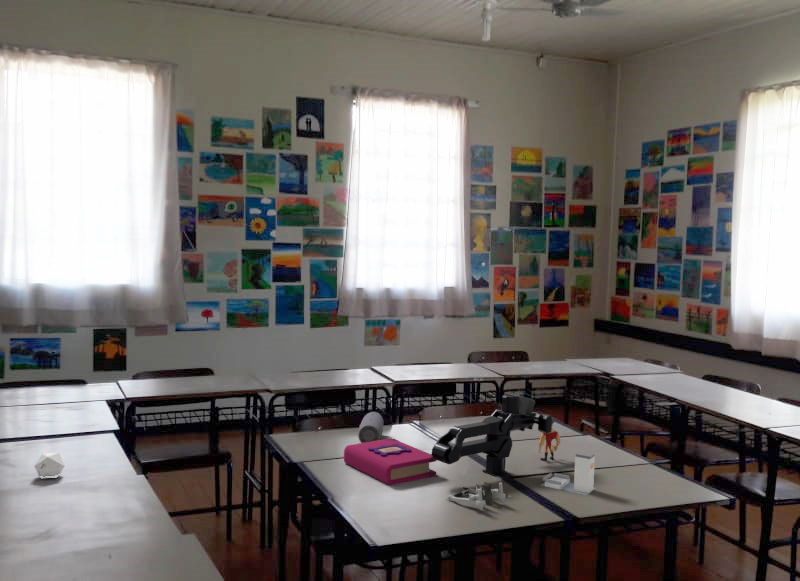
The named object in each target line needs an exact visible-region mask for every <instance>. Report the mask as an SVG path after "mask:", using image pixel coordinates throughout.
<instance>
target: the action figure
mask: <svg viewBox="0 0 800 581" xmlns="http://www.w3.org/2000/svg"><path fill="white" fill-rule="evenodd" d="M553 426H554V425H553V424H552V430H551V433H548V434H546V433H543V432H541V435H540V436H539V437H540V438H539V443H538V449H537V451H538V453H539V454H542V451H541V449H542V447H543V446H544V444H545V448H544V457H540V461H548V455H549V452H550V455H551V456H550V457H549V459H551V460H552V461H554V459H555V458H554V455H555V454H554V452H557V450H558V447H559V445H560V444H561V437H560V434H559V432H558V431H556V430H555V429H554V428H553ZM553 440H555V441H556V442H555V445H552V441H553Z"/></svg>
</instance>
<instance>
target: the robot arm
mask: <svg viewBox="0 0 800 581" xmlns="http://www.w3.org/2000/svg"><path fill="white" fill-rule="evenodd" d="M501 398H502V399H501V401H502V402H501V409H497V408H496V409H495V410H494V412H492V413H491V415H490V416H488V417H486V418H484V419H483V420H482V421H478V422H473V423H469V424H468V423H466V424H463V425H462V424H461V425H453V426H451V427H450V428H449V430H448V431H447V432H446V433H444V434H443V435H442V436H440V437H438V439H437V441H436V442H435V443H434V445H433V447H432V450H431V454H432V457H433V458H434V459H436V460H437V462H438V461H439V462H441V463H443V464H446V465H452V464H454V463H457V462H459V461H460V459H461V458H463V457H467V456H473V455H478V454H486V455H485V459H486V461H485V468H484V469H482V472H483V473H486V474H490V475H492V476H496V477H497V476H501V475H505V474H508V473H509V472H508V470H506V458H510V454H511V451H512V447H513V440H512V438H511V432H515V431H521V432H525V430H526V429H527V430H533V428H534V427H533V426H534V425H537V431H539V432H540V433H546V434H548V433H551V430H552V428H553V426H552V425H553V424H554V423H555V422H556V417H552V416H551V415H550V414H546V413H544V414H540V415H539V416H537V413H536V412H534V407H535V405H536V400H535V399H532V398H530V397H527V396H526V397H525V396H521V395H520V394H518V393H512V392H511V393H510V392H507V393H504V394H503V395H502V396H501ZM485 435H486V436H485ZM479 436H485V437H483V438H480V439H474V440H469V441H465V440H466V439H471V438H475V437H479ZM454 439H455V442H454V443H450V442H452V441H453V440H454ZM464 441H465V442H464Z"/></svg>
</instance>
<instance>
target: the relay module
mask: <svg viewBox="0 0 800 581" xmlns="http://www.w3.org/2000/svg"><path fill="white" fill-rule="evenodd" d="M595 455H596V454H595V453H592V452H587V451H581V450H579V451H578V452H577V453H575V456H574V475H573V477H574V478H573V483H574V490H575V491H580V492H584V493H589V494H591V493H592V492H593V491H594V490H593V488H594V485H595V481H594V479H595V463H596V461H595V460H596V456H595ZM592 490H593V491H592ZM591 491H592V492H591ZM590 492H591V493H590Z"/></svg>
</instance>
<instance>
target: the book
mask: <svg viewBox="0 0 800 581" xmlns="http://www.w3.org/2000/svg"><path fill="white" fill-rule="evenodd" d="M343 462H344V463H345V464H347V465H349V466H351V467H353V468H354V469H357V470H359V471H361V472H362V473H365V474H367V475H369V476H371V477H373V478H375V479H377V480H379V481H381V482H383V483H384V484H387V485H388V486H392V485H393V486H394V485H397V484H402V483H407V482H408V481H409V482H414V481H417V480H423V479H429V478H432V477H436V476H437V471H436V470H433V469H432V468H430V463H433V462H438V460H436V459H434V458H433V457H432V453H429V452H426V451H424V450H421V449H420V448H416V447H414V446H411V445H409V444H407V443H406V442H405V443H404V442H402V441H400V440H398V439H395V438H391V437H390V438H389V437H388V438H382V439H379V440H378V441H372V442H366V443H361V442H360V443H353V444H349V445H346V446H345V447H344V449H343Z"/></svg>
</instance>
